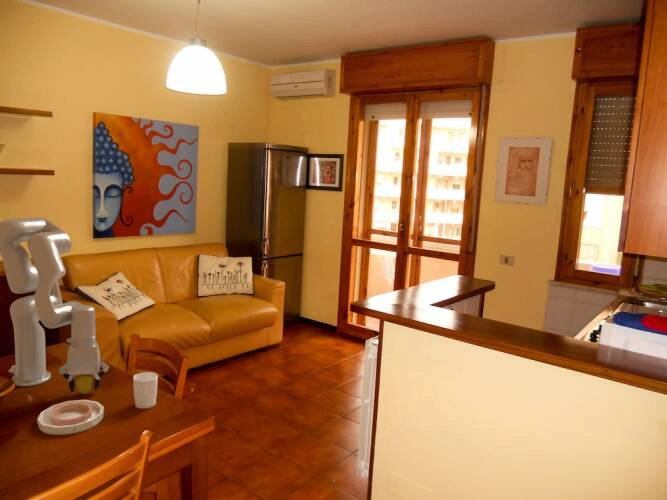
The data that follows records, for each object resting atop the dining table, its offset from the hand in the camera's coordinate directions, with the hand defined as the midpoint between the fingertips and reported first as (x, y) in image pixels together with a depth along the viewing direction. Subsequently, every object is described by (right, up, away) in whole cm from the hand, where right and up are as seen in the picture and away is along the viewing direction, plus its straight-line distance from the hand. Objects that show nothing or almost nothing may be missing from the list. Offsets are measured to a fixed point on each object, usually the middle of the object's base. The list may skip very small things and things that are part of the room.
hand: (84, 389), depth 174 cm
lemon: (0, -2, 0) cm, 2 cm away
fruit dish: (+5, -5, -18) cm, 19 cm away
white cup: (+23, -4, -5) cm, 24 cm away
